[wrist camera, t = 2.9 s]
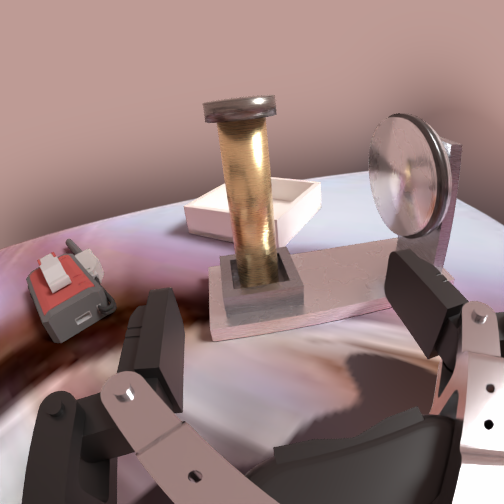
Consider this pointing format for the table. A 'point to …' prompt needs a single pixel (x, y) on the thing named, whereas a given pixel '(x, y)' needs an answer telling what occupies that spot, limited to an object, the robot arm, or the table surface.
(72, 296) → the walkie-talkie
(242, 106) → the lock pin
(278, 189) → the parts tray
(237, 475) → the robot arm
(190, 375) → the table surface
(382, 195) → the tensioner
